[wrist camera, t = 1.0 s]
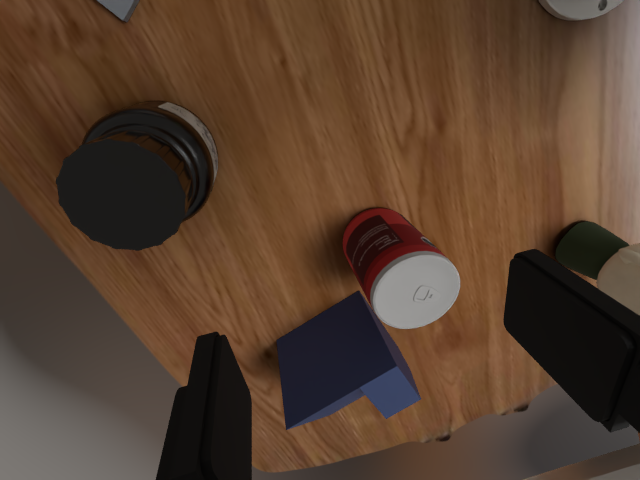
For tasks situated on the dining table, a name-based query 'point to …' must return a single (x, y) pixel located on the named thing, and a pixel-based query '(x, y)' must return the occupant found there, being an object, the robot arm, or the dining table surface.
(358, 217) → the canned food
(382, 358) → the phone stand
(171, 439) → the robot arm
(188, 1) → the dining table surface
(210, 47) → the dining table surface
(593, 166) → the dining table surface
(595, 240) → the character mug
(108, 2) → the colouring board
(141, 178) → the ink bottle
